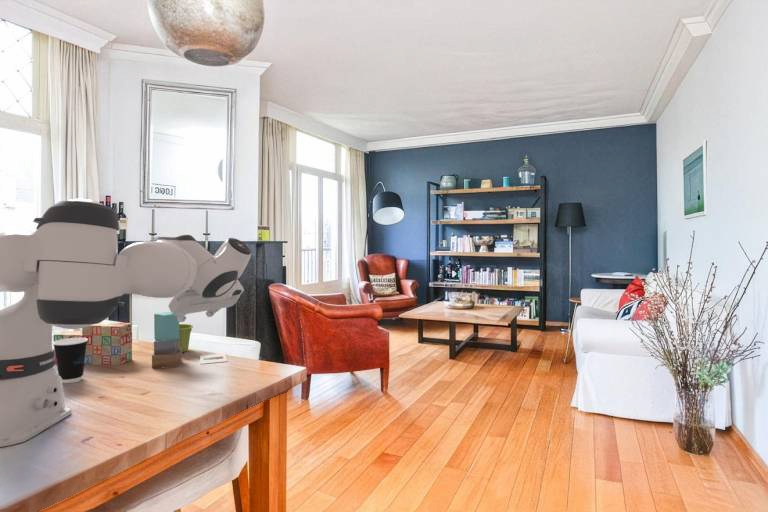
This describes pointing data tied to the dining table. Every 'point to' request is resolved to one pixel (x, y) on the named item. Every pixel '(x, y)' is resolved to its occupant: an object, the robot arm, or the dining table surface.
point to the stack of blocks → (104, 342)
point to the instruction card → (213, 358)
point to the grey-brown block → (166, 354)
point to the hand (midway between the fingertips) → (194, 317)
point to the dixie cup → (70, 358)
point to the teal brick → (166, 326)
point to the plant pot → (184, 336)
